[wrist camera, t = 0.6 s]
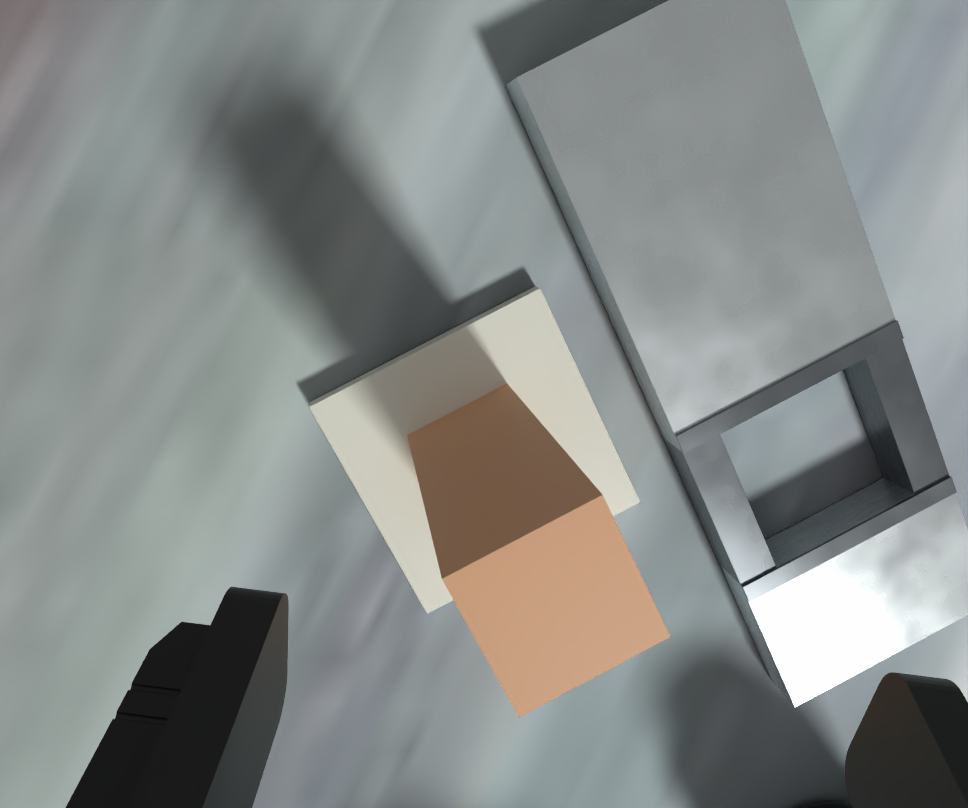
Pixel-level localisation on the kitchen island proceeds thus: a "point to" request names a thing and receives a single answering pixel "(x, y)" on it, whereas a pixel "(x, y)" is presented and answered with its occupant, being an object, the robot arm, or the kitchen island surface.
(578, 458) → the pad
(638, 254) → the grey slotted base
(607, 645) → the block
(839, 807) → the supplement bottle
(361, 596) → the kitchen island surface
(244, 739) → the robot arm
